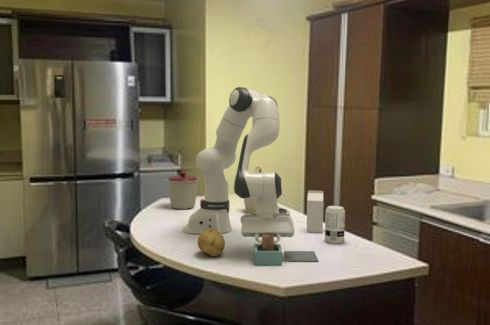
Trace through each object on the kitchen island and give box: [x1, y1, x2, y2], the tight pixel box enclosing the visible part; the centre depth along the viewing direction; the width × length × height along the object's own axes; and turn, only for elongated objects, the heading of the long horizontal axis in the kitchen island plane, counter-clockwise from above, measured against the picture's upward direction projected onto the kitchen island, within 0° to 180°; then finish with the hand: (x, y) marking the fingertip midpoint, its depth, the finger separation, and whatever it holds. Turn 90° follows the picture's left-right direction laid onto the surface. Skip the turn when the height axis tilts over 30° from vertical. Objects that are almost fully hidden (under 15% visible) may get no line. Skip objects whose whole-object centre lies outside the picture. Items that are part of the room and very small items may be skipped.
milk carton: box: [306, 190, 324, 234], centre depth 226 cm, size 7×7×19 cm
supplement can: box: [324, 205, 346, 245], centre depth 208 cm, size 8×8×15 cm
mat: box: [283, 250, 319, 263], centre depth 187 cm, size 12×12×1 cm
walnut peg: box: [261, 233, 275, 251], centre depth 182 cm, size 4×4×10 cm
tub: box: [253, 243, 283, 266], centre depth 182 cm, size 10×10×5 cm
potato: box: [197, 229, 226, 257], centre depth 189 cm, size 10×12×10 cm
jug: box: [243, 166, 262, 214], centre depth 265 cm, size 15×16×25 cm
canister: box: [166, 170, 200, 210], centre depth 275 cm, size 18×18×21 cm
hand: (268, 245), depth 181 cm, fingers closed on walnut peg, 4 cm apart
